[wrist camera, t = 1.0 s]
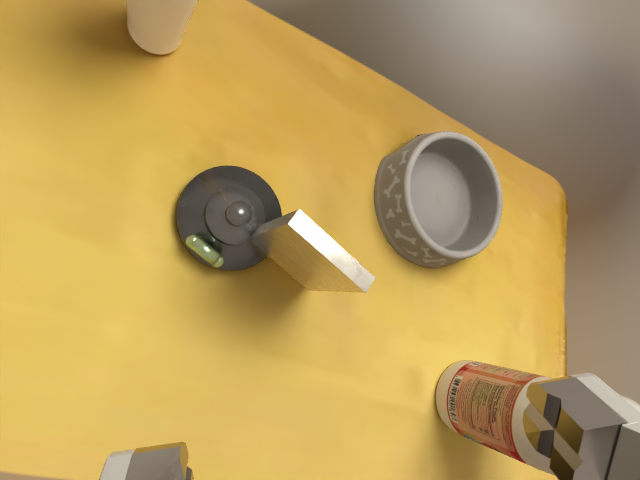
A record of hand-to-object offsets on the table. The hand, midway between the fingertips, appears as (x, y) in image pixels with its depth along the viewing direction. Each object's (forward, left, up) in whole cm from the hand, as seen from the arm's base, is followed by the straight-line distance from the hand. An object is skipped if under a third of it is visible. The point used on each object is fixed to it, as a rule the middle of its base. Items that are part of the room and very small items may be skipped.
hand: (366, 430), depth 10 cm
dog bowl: (+17, +31, -36) cm, 51 cm away
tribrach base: (-2, +11, -36) cm, 37 cm away
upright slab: (+2, +11, -34) cm, 36 cm away
